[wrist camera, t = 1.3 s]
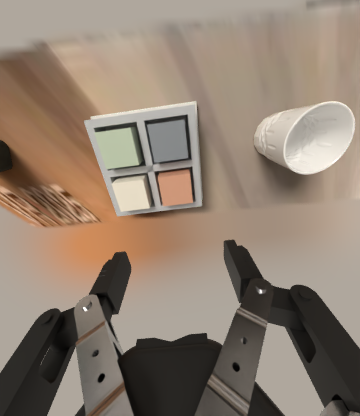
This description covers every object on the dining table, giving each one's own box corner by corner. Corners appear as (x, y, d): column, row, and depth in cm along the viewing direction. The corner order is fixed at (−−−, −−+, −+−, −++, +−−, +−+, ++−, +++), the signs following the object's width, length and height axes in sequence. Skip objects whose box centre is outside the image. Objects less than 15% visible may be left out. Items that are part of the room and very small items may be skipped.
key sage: (135, 127, 24) (130, 127, 21) (143, 160, 26) (139, 164, 23) (104, 131, 24) (93, 132, 21) (114, 164, 26) (106, 169, 23)
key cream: (146, 173, 27) (142, 179, 24) (152, 199, 29) (149, 208, 26) (118, 177, 27) (111, 183, 24) (126, 203, 30) (120, 211, 27)
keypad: (195, 101, 25) (199, 97, 21) (202, 197, 33) (206, 209, 28) (93, 116, 26) (76, 115, 22) (122, 207, 34) (114, 220, 29)
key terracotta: (188, 168, 27) (189, 173, 24) (191, 194, 29) (192, 202, 26) (159, 171, 27) (157, 177, 24) (164, 198, 29) (163, 206, 26)
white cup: (303, 108, 26) (369, 100, 17) (289, 158, 30) (337, 173, 21) (254, 109, 26) (295, 102, 17) (246, 159, 30) (276, 175, 21)
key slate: (183, 120, 24) (184, 119, 21) (186, 154, 26) (188, 158, 23) (150, 124, 24) (147, 124, 21) (156, 158, 26) (154, 162, 23)
